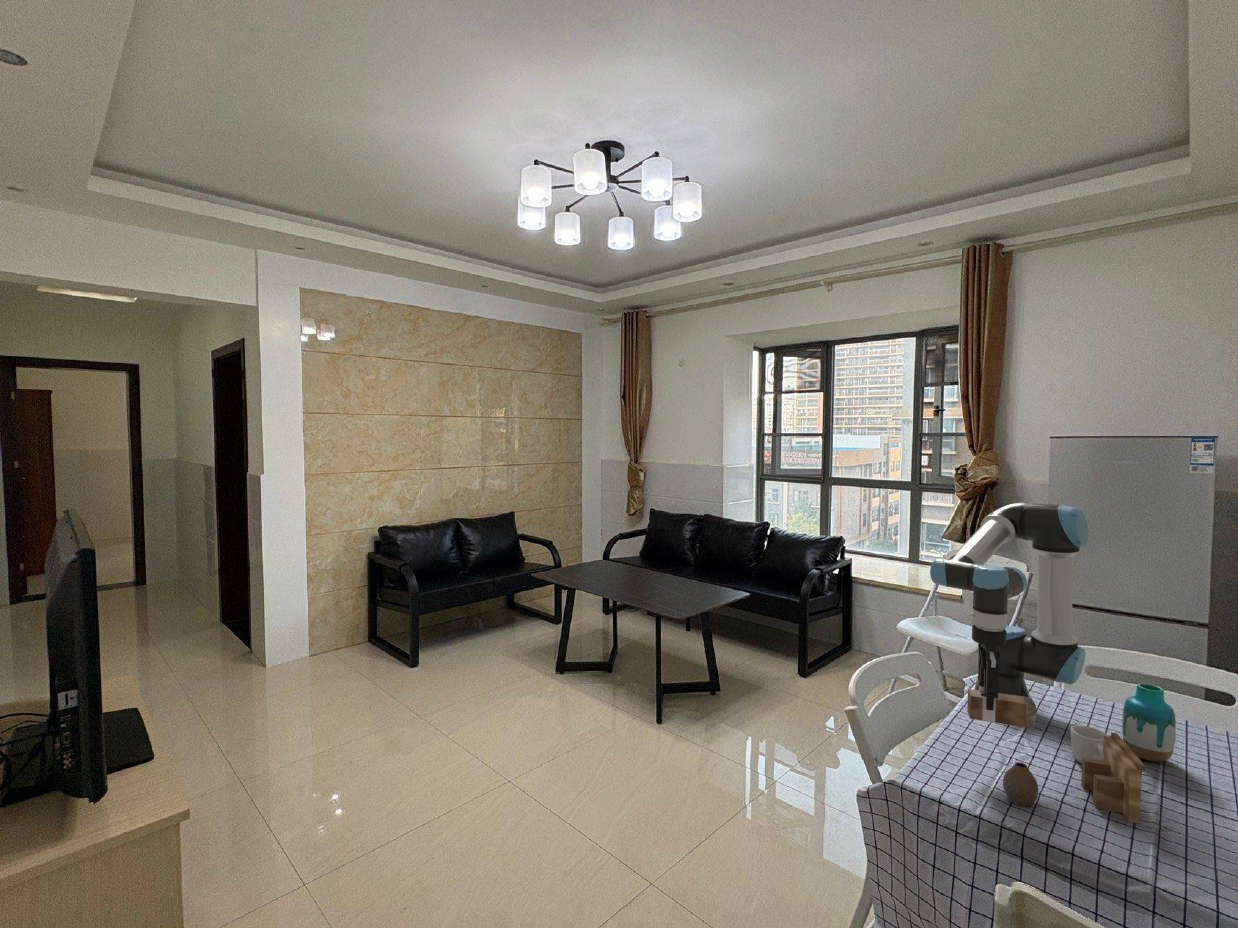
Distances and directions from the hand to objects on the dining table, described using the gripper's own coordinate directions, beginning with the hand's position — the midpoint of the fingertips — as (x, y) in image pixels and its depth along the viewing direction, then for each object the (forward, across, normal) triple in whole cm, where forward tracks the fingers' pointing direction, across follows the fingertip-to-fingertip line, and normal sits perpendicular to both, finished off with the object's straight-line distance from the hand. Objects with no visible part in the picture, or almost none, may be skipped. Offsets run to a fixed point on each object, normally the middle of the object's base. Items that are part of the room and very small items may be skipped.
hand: (986, 716), depth 154 cm
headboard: (+13, +5, +24) cm, 28 cm away
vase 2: (+14, -22, +41) cm, 48 cm away
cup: (+14, -12, +26) cm, 32 cm away
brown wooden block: (0, 0, +3) cm, 3 cm away
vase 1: (+13, +14, +5) cm, 20 cm away
